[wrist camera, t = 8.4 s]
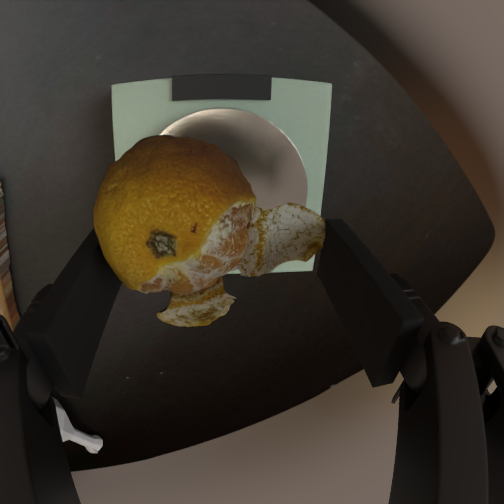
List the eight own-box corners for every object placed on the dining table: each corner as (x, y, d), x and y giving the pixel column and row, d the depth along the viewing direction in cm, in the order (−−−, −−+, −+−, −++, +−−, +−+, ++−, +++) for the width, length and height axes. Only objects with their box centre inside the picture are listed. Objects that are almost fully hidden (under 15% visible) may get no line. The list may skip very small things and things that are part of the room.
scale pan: (131, 112, 16) (128, 113, 15) (311, 110, 17) (314, 111, 17) (147, 269, 21) (145, 273, 21) (297, 264, 23) (299, 269, 22)
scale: (124, 84, 18) (109, 83, 15) (318, 83, 19) (334, 82, 17) (139, 256, 25) (131, 278, 22) (303, 252, 26) (313, 272, 23)
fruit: (195, 332, 15) (192, 390, 12) (66, 219, 11) (26, 262, 8) (334, 235, 13) (368, 281, 10) (209, 77, 10) (204, 67, 6)
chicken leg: (79, 435, 41) (90, 473, 35) (3, 394, 30) (6, 439, 24) (109, 417, 43) (123, 456, 37) (33, 370, 32) (38, 418, 26)
